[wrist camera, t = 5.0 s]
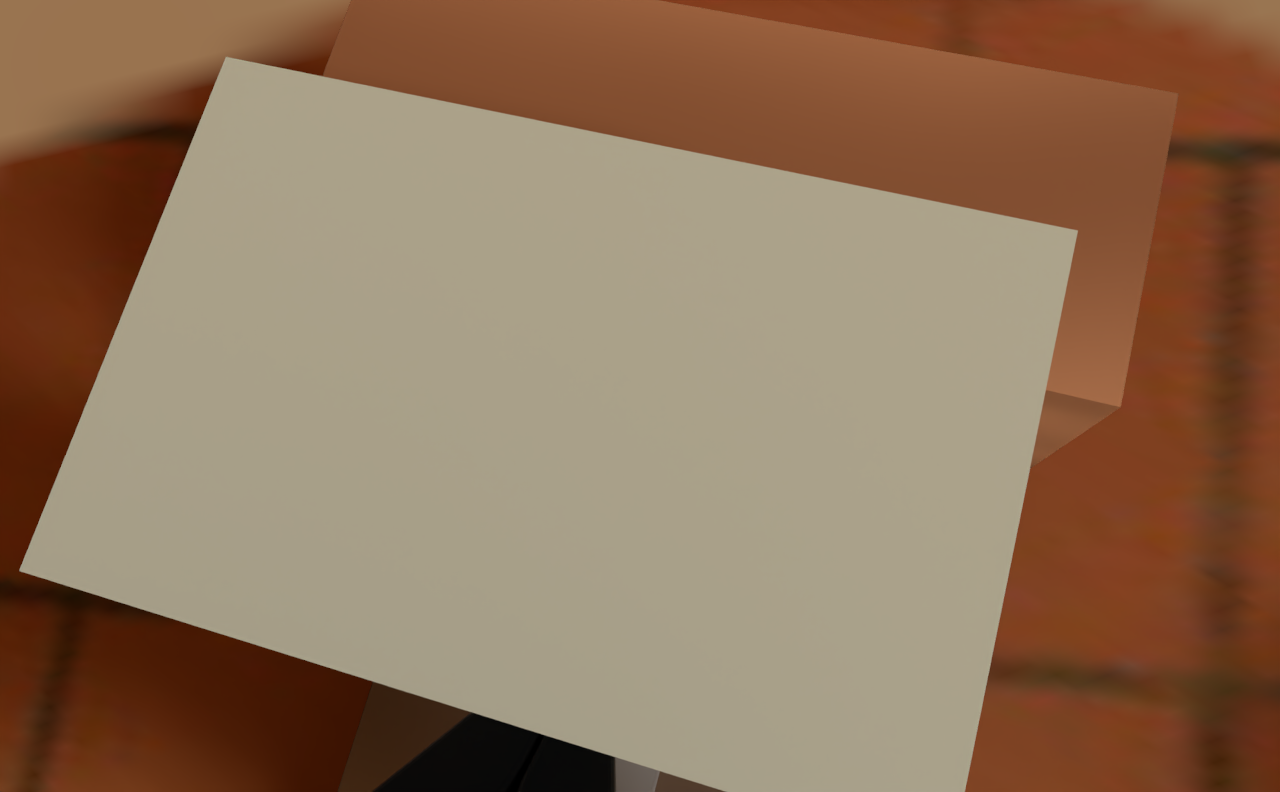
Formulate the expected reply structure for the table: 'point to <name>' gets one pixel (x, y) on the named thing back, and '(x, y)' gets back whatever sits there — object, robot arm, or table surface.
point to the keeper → (573, 432)
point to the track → (797, 171)
